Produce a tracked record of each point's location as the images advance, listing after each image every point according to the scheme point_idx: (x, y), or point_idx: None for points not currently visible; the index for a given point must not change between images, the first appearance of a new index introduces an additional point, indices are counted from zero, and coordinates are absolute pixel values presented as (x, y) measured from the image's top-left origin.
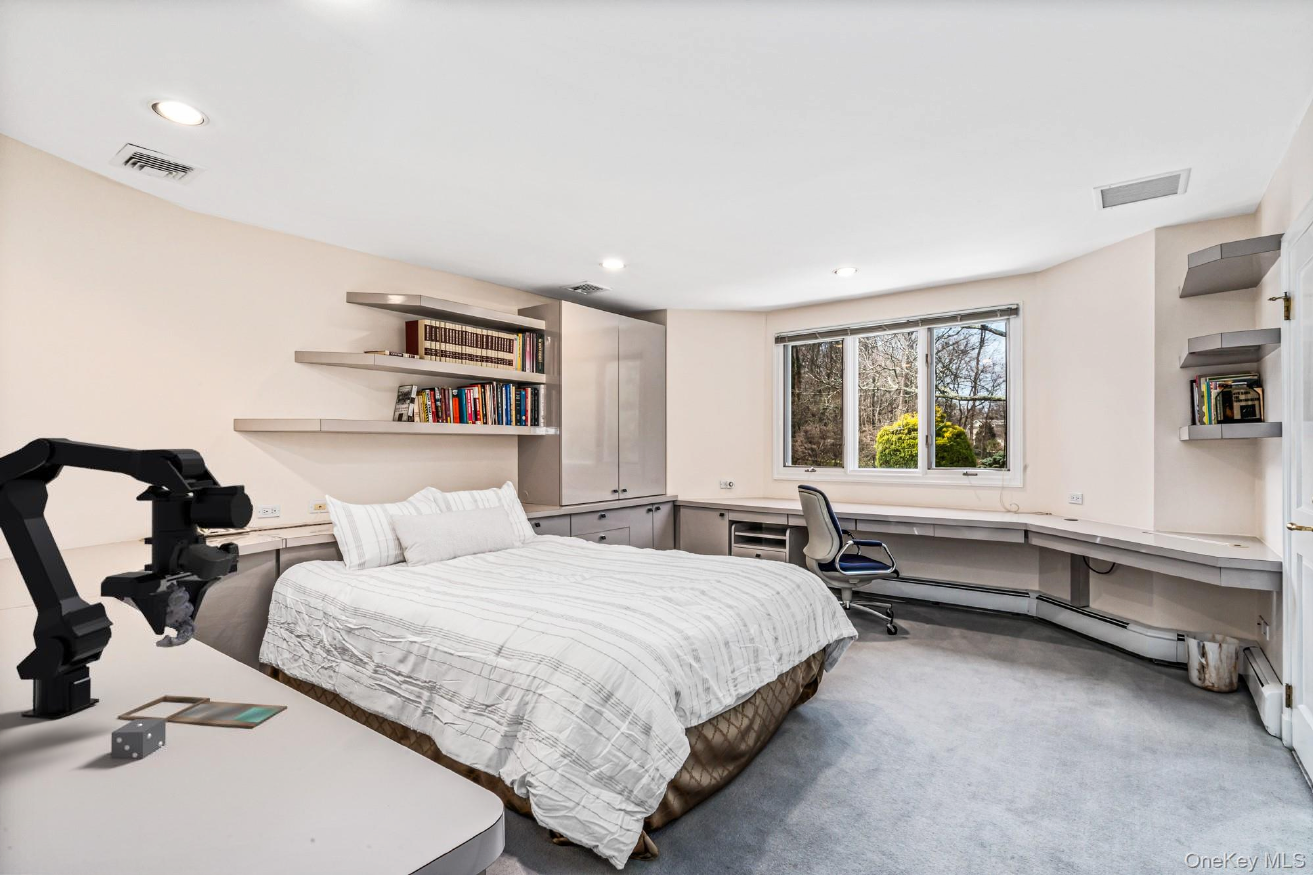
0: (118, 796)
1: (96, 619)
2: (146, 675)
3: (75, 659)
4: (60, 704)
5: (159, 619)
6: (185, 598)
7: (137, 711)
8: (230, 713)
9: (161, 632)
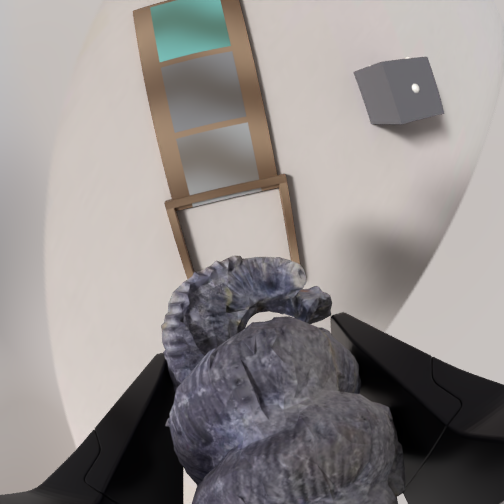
0: (447, 25)
1: None
2: None
3: None
4: None
5: (411, 347)
6: (280, 470)
7: None
8: (202, 77)
9: (350, 316)
